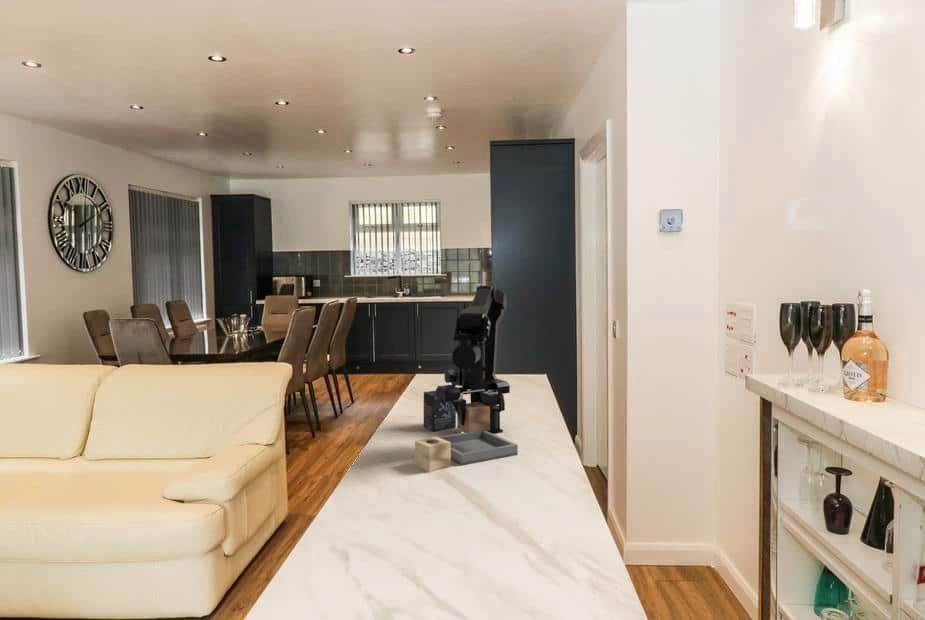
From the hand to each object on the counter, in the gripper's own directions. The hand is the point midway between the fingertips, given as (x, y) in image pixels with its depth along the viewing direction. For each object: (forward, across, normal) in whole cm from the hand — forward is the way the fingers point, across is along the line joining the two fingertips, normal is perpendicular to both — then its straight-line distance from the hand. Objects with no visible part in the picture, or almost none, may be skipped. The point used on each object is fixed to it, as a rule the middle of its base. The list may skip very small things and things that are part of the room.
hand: (473, 423), depth 160 cm
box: (+8, -3, -24) cm, 25 cm away
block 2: (+2, 0, 0) cm, 2 cm away
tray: (+7, 0, 0) cm, 7 cm away
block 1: (+7, +14, +5) cm, 17 cm away
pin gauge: (+7, +3, -11) cm, 13 cm away
